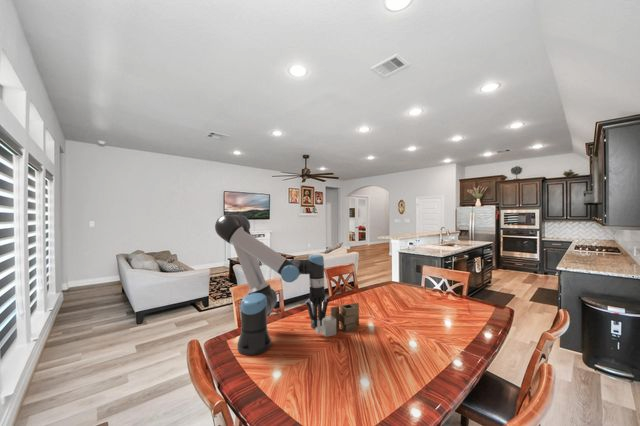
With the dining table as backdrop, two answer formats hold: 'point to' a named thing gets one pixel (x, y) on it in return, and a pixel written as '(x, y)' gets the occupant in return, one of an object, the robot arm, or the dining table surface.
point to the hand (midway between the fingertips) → (318, 332)
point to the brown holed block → (348, 311)
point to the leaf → (335, 321)
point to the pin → (312, 320)
